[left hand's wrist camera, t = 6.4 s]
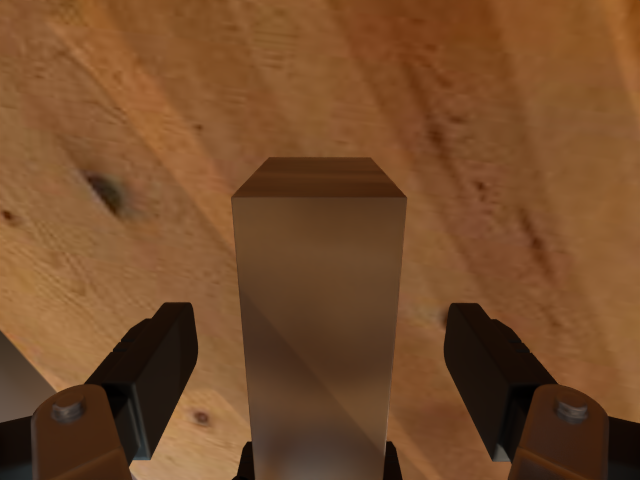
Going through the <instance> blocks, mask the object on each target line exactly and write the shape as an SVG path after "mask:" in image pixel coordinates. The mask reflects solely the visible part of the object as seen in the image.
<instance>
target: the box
mask: <svg viewBox="0 0 640 480" xmlns="http://www.w3.org/2000/svg"><path fill="white" fill-rule="evenodd" d="M231 202H232V213H233V225H234V237H235V249H236V261H237V272H238V284H239V296H240V308H241V319H242V331H243V343H244V355H245V366H246V378H247V390H248V402H249V414H250V425H251V437H252V449H253V461H254V472H255V480H383V473H384V461H385V449H386V438H387V426H388V414H389V403H390V391H391V379H392V368H393V356H394V345H395V333H396V321H397V310H398V298H399V286H400V275H401V263H402V251H403V240H404V228H405V216H406V205H407V197H406V196H405V195H404V194H403V193H402V191H401V190H400V189H399V188H398V187H397V186H396V185H395V184H394V183H393V182H392V181H391V179H390V178H389V177H388V176H387V175H386V174H385V173H384V172H383V171H382V170H381V168H380V167H379V166H378V165H377V164H376V163H375V162H374V161H373V160H372V159H371V158H316V157H269V158H268V159H267V160H266V161H265V162H264V163H263V164H262V165H261V166H260V167H259V168H258V169H257V171H256V172H255V173H254V174H253V175H252V176H251V177H250V178H249V179H248V180H247V181H246V182H245V183H244V184H243V185H242V186H241V187H240V188H239V190H238V191H237V192H236V193H235V194H234V195H233V196H232V197H231Z"/></svg>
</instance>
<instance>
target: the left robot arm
mask: <svg viewBox="0 0 640 480" xmlns="http://www.w3.org/2000/svg"><path fill="white" fill-rule="evenodd" d="M197 357H198V341H197V334H196V327H195V319H194V312H193V307H192V304H191V303H189V302H166V303H164V304H163V305H162V306H161V307H160V308H159V310H158V311H157V312H156V313H155V315H154V316H153V317H152V319H144V320H143V321H141V322H140V323H138V324H137V325H135V326H134V327H132V328H131V329H130V330H129V331H128V332H127V333H126V335H125V336H124V337H123V338H122V339H121V342H119V343H118V344H117V345H116V346H115V348H114V349H113V352H110V354H109V355H108V356H107V357H106V358H105V359H104V361H103V362H102V363H101V364H100V365H99V367H98V368H97V369H96V370H95V371H94V373H93V374H92V375H91V376H90V377H89V378H88V380H87V381H86V382H85V383H84V384H83V385H77V386H73V387H70V388H67V389H65V390H62V391H60V392H58V393H56V394H54V395H53V396H51V397H49V398H48V399H47V400H45V401H44V402H43V403H42V404H41V405H40V406H39V407H38V408H37V409H36V410H35V412H34V413H33V415H32V416H28V417H24V418H20V419H15V420H11V421H6V422H2V423H0V480H132V477H131V473H130V470H129V466H130V464H131V462H132V460H150V459H151V457H152V455H153V453H154V451H155V449H156V447H157V445H158V443H159V441H160V438H161V436H162V434H163V432H164V430H165V428H166V426H167V424H168V422H169V420H170V417H171V415H172V413H173V411H174V409H175V407H176V405H177V403H178V401H179V399H180V396H181V394H182V392H183V390H184V388H185V386H186V384H187V382H188V380H189V378H190V375H191V373H192V371H193V369H194V367H195V365H196V361H197ZM444 358H445V363H446V366H447V368H448V370H449V372H450V374H451V376H452V378H453V380H454V383H455V385H456V387H457V389H458V391H459V393H460V395H461V397H462V399H463V401H464V403H465V405H466V407H467V410H468V412H469V414H470V416H471V418H472V420H473V422H474V424H475V426H476V428H477V430H478V432H479V434H480V436H481V439H482V441H483V443H484V445H485V447H486V449H487V451H488V453H489V455H490V457H491V459H492V461H493V462H511V464H512V466H511V470H510V473H509V477H508V480H640V423H635V422H631V421H627V420H622V419H618V418H614V417H610V416H608V415H607V413H606V412H605V410H604V409H603V408H602V407H601V406H600V405H599V404H598V403H597V402H596V401H595V400H593V399H592V398H591V397H589V396H587V395H586V394H584V393H582V392H580V391H578V390H575V389H573V388H570V387H567V386H563V385H559V384H558V383H557V382H556V381H555V380H554V378H553V377H552V376H551V375H550V374H549V372H548V371H547V370H546V369H545V368H544V367H543V365H542V364H541V363H540V362H539V361H538V360H537V358H536V357H535V356H534V355H533V354H532V353H530V350H529V349H528V348H527V347H526V345H525V344H524V343H522V342H521V340H520V338H519V337H518V336H517V335H516V334H515V332H514V331H513V330H512V329H511V328H509V327H508V326H506V325H505V324H503V323H501V322H500V321H498V320H497V319H490V318H489V316H488V315H487V314H486V313H485V311H484V310H483V309H482V307H481V306H480V305H479V304H478V303H452V304H451V305H450V307H449V312H448V319H447V326H446V334H445V341H444Z"/></svg>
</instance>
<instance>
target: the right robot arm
mask: <svg viewBox="0 0 640 480" xmlns="http://www.w3.org/2000/svg"><path fill="white" fill-rule="evenodd" d="M232 480H255V472H254V461H253V449H252V442H247V443H246V445H245V446H244V447H243V450H242V455H241V459H240V464H239V468H238V472H237V476H235V477H234V478H233V479H232ZM383 480H403V479H402V475H401V470H400V465H399V461H398V457H397V452H396V448H395V446H394V445H393V443H392V442H391V441H386V449H385V461H384V473H383Z"/></svg>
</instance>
